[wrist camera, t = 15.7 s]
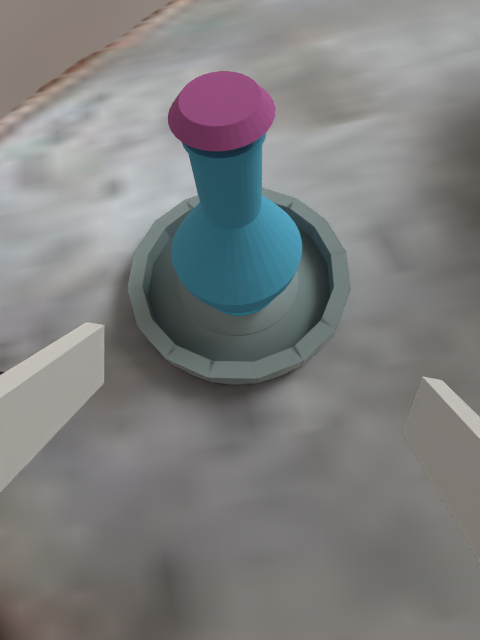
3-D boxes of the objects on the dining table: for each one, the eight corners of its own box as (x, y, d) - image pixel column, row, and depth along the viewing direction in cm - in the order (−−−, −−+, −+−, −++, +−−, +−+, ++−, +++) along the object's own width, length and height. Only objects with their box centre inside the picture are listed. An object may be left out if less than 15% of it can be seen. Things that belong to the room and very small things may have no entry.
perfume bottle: (166, 310, 26) (66, 150, 13) (210, 223, 30) (167, 20, 16) (274, 346, 25) (294, 208, 11) (308, 250, 28) (357, 49, 14)
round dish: (153, 206, 32) (145, 188, 30) (332, 204, 31) (338, 185, 29) (122, 382, 25) (110, 375, 23) (351, 387, 24) (360, 380, 22)
